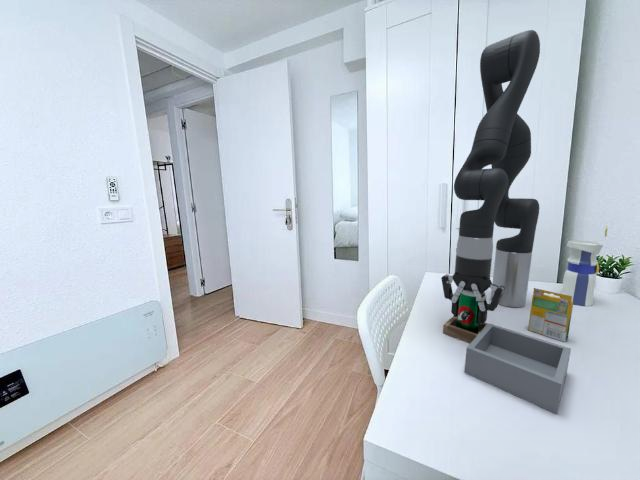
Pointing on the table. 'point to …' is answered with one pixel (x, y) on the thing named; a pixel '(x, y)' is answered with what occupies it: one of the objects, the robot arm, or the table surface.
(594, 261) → the white plastic bottle
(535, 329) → the crayon box
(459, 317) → the soda can
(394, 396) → the table surface
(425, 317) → the table surface
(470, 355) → the bin
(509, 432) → the table surface
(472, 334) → the frame
